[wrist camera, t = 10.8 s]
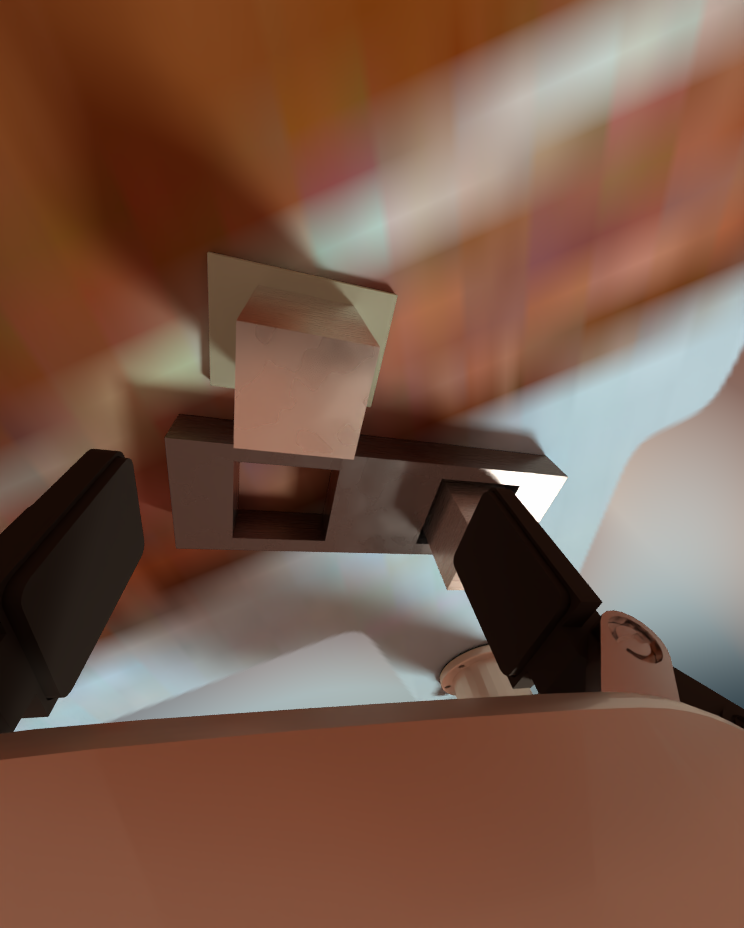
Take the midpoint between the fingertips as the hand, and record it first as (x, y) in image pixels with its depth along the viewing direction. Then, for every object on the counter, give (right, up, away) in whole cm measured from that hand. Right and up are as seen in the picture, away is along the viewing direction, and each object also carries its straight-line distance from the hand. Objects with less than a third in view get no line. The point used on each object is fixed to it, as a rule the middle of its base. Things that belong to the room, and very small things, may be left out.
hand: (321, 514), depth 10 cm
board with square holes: (+2, 0, +19) cm, 19 cm away
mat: (-3, +9, +11) cm, 15 cm away
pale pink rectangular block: (-3, +8, +11) cm, 14 cm away
